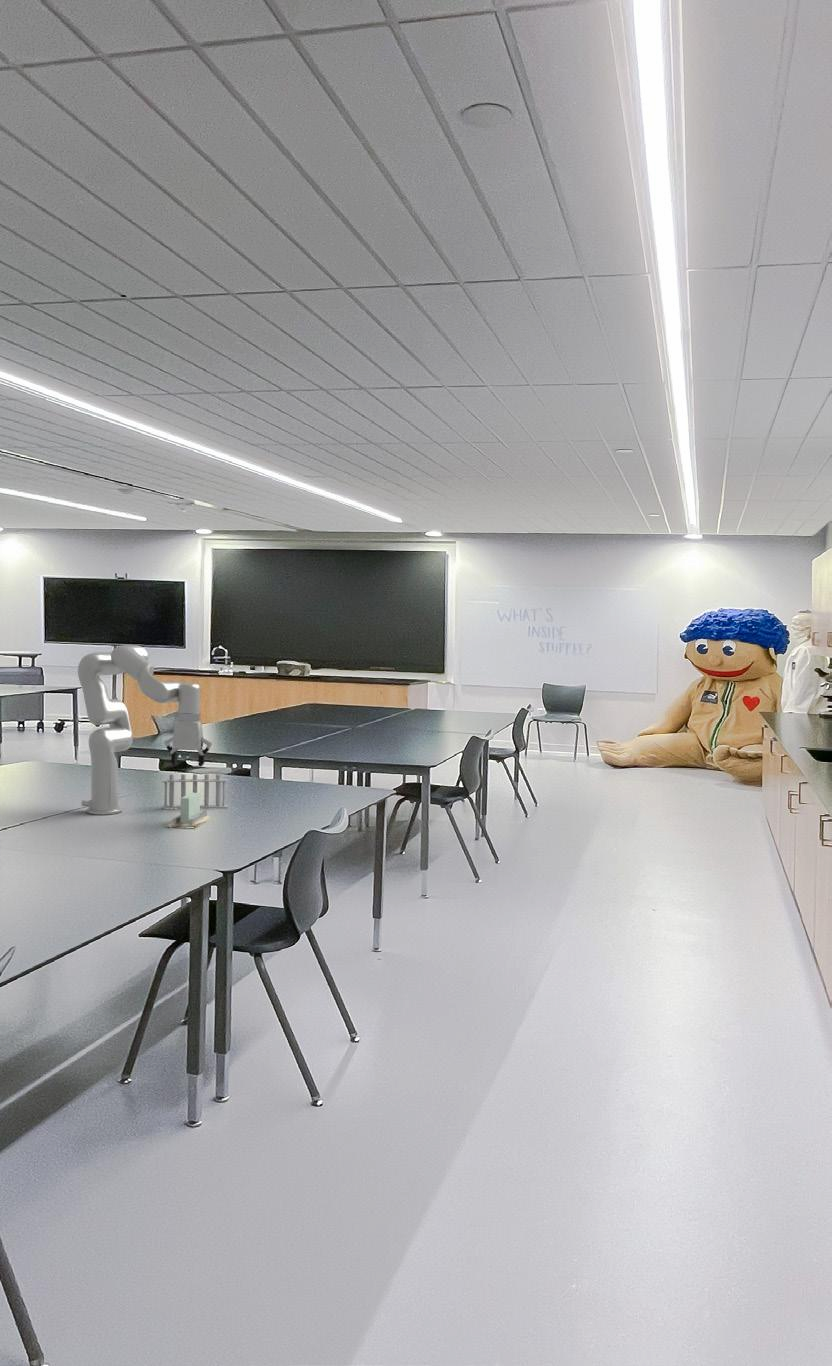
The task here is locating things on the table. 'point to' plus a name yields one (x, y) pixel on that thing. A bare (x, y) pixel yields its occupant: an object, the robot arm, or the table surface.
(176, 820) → the bottom track
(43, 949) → the table surface
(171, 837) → the table surface
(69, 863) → the table surface
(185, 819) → the door panel
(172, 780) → the test tube rack
